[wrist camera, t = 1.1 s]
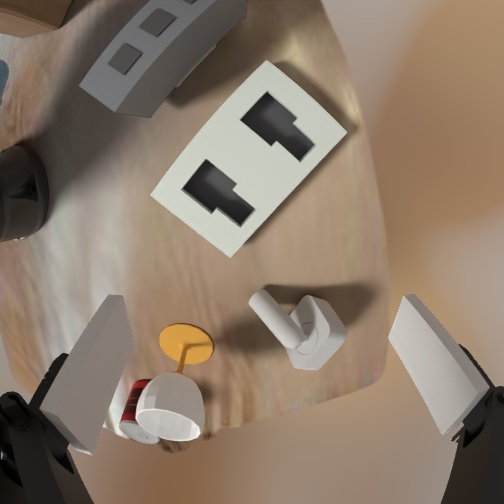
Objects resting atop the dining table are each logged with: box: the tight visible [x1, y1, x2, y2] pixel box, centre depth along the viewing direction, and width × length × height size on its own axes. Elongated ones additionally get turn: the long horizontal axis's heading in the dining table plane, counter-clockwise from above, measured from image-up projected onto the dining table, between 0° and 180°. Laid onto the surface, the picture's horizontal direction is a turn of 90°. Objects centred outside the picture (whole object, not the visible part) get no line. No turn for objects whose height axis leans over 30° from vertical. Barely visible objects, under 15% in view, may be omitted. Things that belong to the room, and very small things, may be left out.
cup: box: [136, 324, 213, 441], centre depth 34 cm, size 9×9×16 cm
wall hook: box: [249, 290, 347, 370], centre depth 35 cm, size 8×10×10 cm
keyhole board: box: [151, 60, 347, 258], centre depth 29 cm, size 12×20×3 cm, turn 139°
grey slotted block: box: [79, 0, 247, 118], centre depth 20 cm, size 5×16×12 cm, turn 139°
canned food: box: [119, 380, 160, 444], centre depth 42 cm, size 8×8×11 cm
